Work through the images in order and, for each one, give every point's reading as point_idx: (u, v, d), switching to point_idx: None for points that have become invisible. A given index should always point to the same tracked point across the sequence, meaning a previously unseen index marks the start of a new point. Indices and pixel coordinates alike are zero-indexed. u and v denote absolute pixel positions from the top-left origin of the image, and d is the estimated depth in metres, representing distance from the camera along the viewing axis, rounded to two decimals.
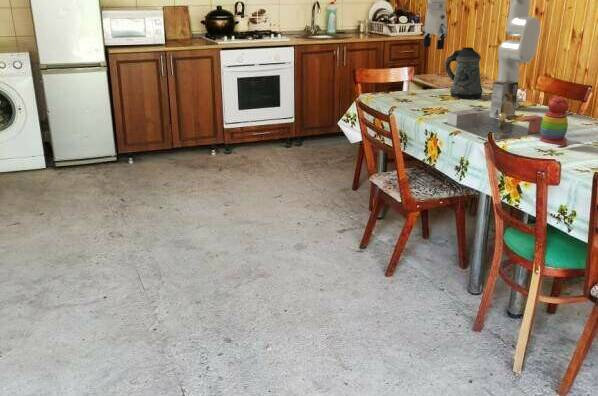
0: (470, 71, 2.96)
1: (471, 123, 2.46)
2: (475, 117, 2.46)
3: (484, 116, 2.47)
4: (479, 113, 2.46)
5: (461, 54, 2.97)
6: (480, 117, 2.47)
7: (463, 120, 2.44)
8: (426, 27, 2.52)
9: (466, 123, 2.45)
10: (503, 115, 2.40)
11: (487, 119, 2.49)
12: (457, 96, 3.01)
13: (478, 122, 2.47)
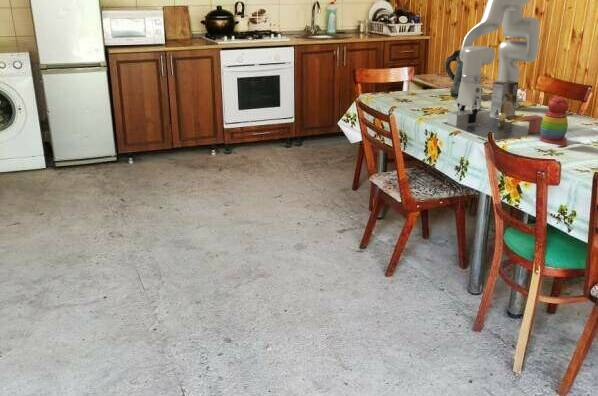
0: None
1: (471, 123, 2.46)
2: None
3: (484, 116, 2.47)
4: (479, 113, 2.46)
5: None
6: (480, 117, 2.47)
7: (463, 120, 2.44)
8: (460, 98, 2.47)
9: (466, 123, 2.45)
10: (503, 115, 2.40)
11: (487, 119, 2.49)
12: (457, 96, 3.01)
13: (478, 122, 2.47)
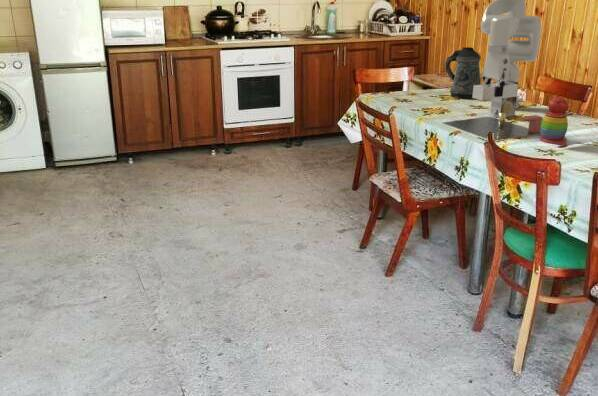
0: (470, 71, 2.96)
1: (498, 97, 2.34)
2: None
3: (511, 90, 2.35)
4: (506, 86, 2.33)
5: (461, 54, 2.97)
6: (507, 91, 2.34)
7: (490, 93, 2.31)
8: (486, 71, 2.34)
9: (493, 97, 2.33)
10: (503, 115, 2.40)
11: (514, 93, 2.36)
12: (457, 96, 3.01)
13: (505, 96, 2.35)
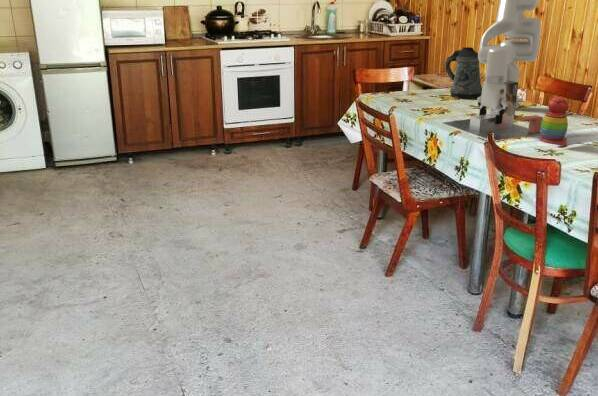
0: (470, 71, 2.96)
1: (494, 128, 2.38)
2: None
3: (508, 121, 2.40)
4: (503, 117, 2.38)
5: (461, 54, 2.97)
6: (503, 121, 2.39)
7: (486, 125, 2.36)
8: (483, 100, 2.39)
9: (489, 128, 2.37)
10: (503, 115, 2.40)
11: (511, 123, 2.41)
12: (457, 96, 3.01)
13: (501, 127, 2.40)
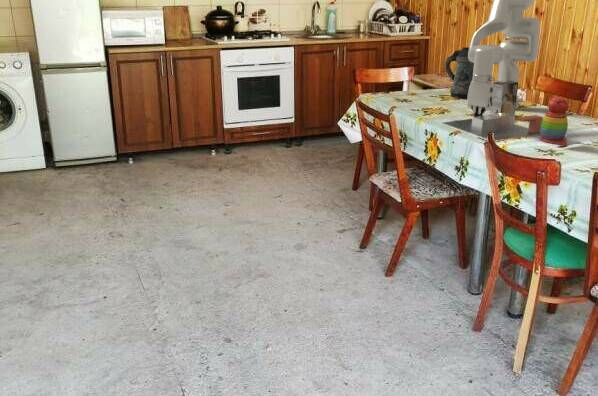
0: (470, 71, 2.96)
1: (496, 128, 2.38)
2: (500, 122, 2.38)
3: (509, 121, 2.39)
4: (504, 118, 2.38)
5: (461, 54, 2.97)
6: (505, 122, 2.39)
7: (488, 125, 2.35)
8: (470, 99, 2.41)
9: (491, 128, 2.37)
10: (503, 115, 2.40)
11: (512, 124, 2.41)
12: (457, 96, 3.01)
13: (503, 127, 2.39)
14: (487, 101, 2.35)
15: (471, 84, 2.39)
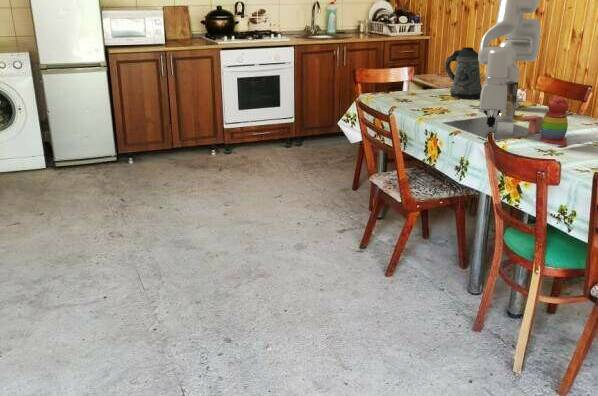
0: (470, 71, 2.96)
1: None
2: None
3: None
4: (512, 117, 2.38)
5: (461, 54, 2.97)
6: None
7: None
8: (485, 103, 2.32)
9: None
10: (503, 115, 2.40)
11: None
12: (457, 96, 3.01)
13: None
14: (505, 103, 2.30)
15: (486, 88, 2.30)
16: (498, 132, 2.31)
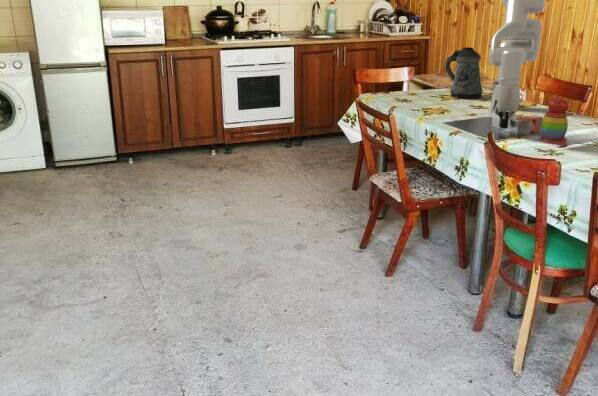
0: (470, 71, 2.96)
1: None
2: None
3: None
4: None
5: (461, 54, 2.97)
6: None
7: None
8: (503, 105, 2.28)
9: None
10: None
11: None
12: (457, 96, 3.01)
13: None
14: None
15: (504, 89, 2.26)
16: (518, 132, 2.30)
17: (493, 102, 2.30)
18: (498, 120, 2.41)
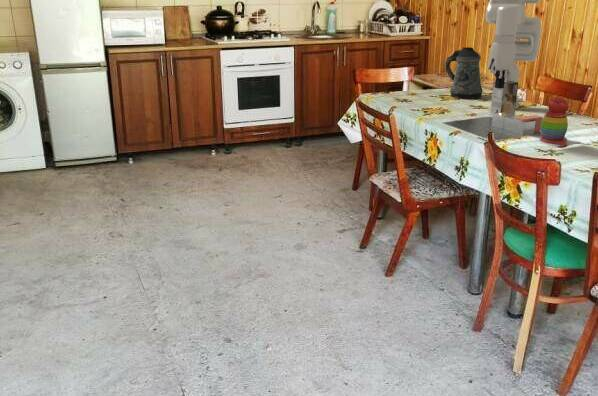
0: (470, 71, 2.96)
1: None
2: None
3: None
4: None
5: (461, 54, 2.97)
6: None
7: None
8: (500, 64, 2.20)
9: None
10: (503, 115, 2.40)
11: None
12: (457, 96, 3.01)
13: None
14: (514, 61, 2.24)
15: (502, 47, 2.18)
16: (524, 132, 2.30)
17: (489, 61, 2.22)
18: (499, 120, 2.40)
